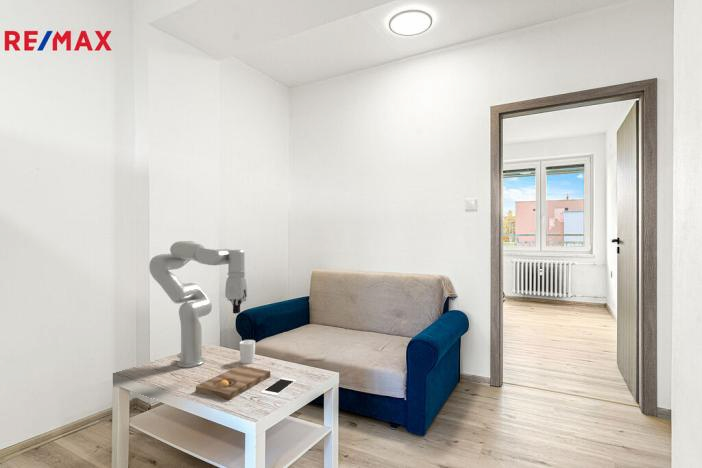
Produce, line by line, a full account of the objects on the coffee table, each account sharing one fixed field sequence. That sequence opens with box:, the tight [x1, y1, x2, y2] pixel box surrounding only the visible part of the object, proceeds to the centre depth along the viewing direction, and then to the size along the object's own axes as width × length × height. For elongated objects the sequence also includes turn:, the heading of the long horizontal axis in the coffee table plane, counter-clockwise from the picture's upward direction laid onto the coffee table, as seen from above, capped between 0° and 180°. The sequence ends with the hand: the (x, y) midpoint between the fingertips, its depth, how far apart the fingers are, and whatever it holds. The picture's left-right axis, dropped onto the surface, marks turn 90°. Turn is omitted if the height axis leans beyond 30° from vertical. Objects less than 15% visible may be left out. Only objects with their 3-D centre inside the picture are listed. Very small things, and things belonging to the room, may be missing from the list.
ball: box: [219, 380, 229, 386], centre depth 151 cm, size 4×4×4 cm
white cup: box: [239, 339, 256, 365], centre depth 184 cm, size 8×8×10 cm
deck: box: [195, 364, 271, 401], centre depth 156 cm, size 26×18×2 cm
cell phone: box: [260, 377, 297, 397], centre depth 154 cm, size 8×16×1 cm, turn 158°
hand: (236, 312), depth 174 cm, fingers closed
